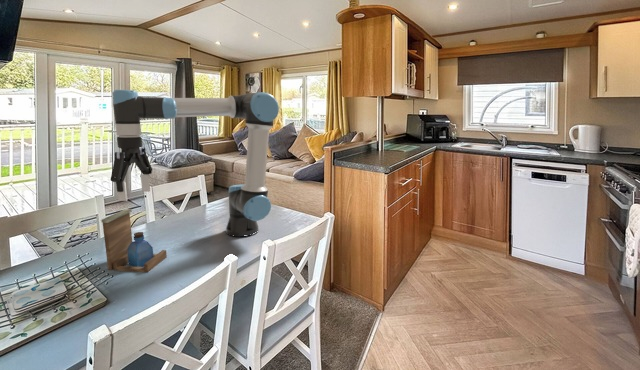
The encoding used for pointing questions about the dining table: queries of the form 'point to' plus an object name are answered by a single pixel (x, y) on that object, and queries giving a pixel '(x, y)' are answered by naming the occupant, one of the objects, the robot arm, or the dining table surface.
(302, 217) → the dining table surface
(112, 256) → the wooden l-shaped stand
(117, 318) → the dining table surface
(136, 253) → the perfume bottle
